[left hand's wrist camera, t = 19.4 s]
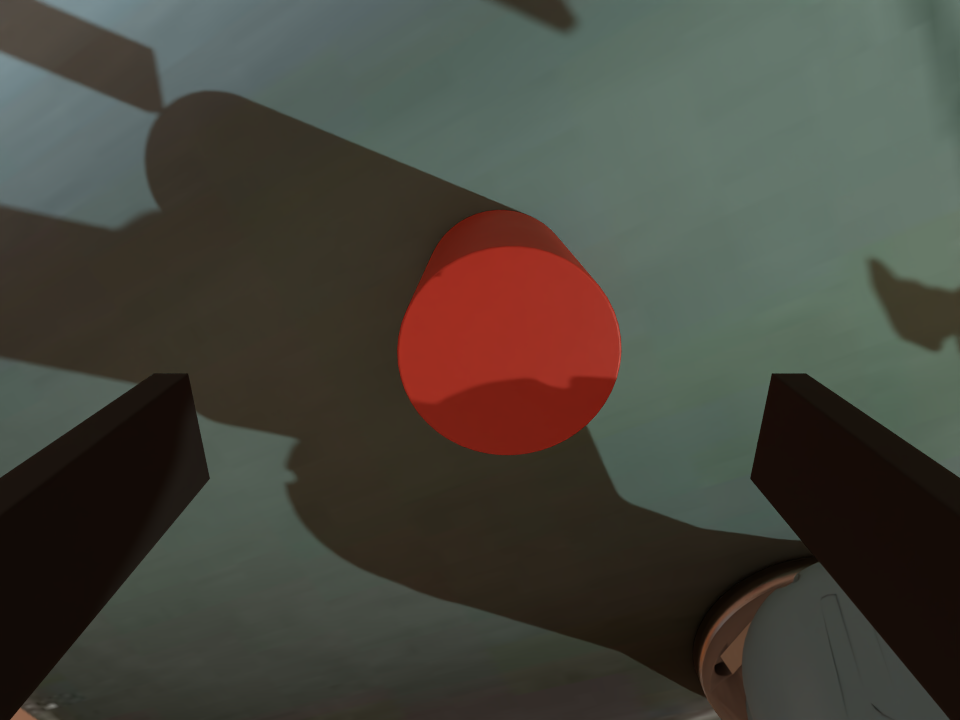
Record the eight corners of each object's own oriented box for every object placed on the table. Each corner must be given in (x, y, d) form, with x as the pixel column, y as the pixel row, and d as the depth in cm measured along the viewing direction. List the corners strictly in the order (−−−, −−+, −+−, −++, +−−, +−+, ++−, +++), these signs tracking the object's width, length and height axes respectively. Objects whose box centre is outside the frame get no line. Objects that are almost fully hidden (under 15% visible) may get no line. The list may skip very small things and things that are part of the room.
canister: (395, 278, 29) (350, 348, 19) (508, 176, 27) (524, 193, 17) (491, 379, 31) (496, 491, 21) (602, 292, 29) (666, 369, 19)
